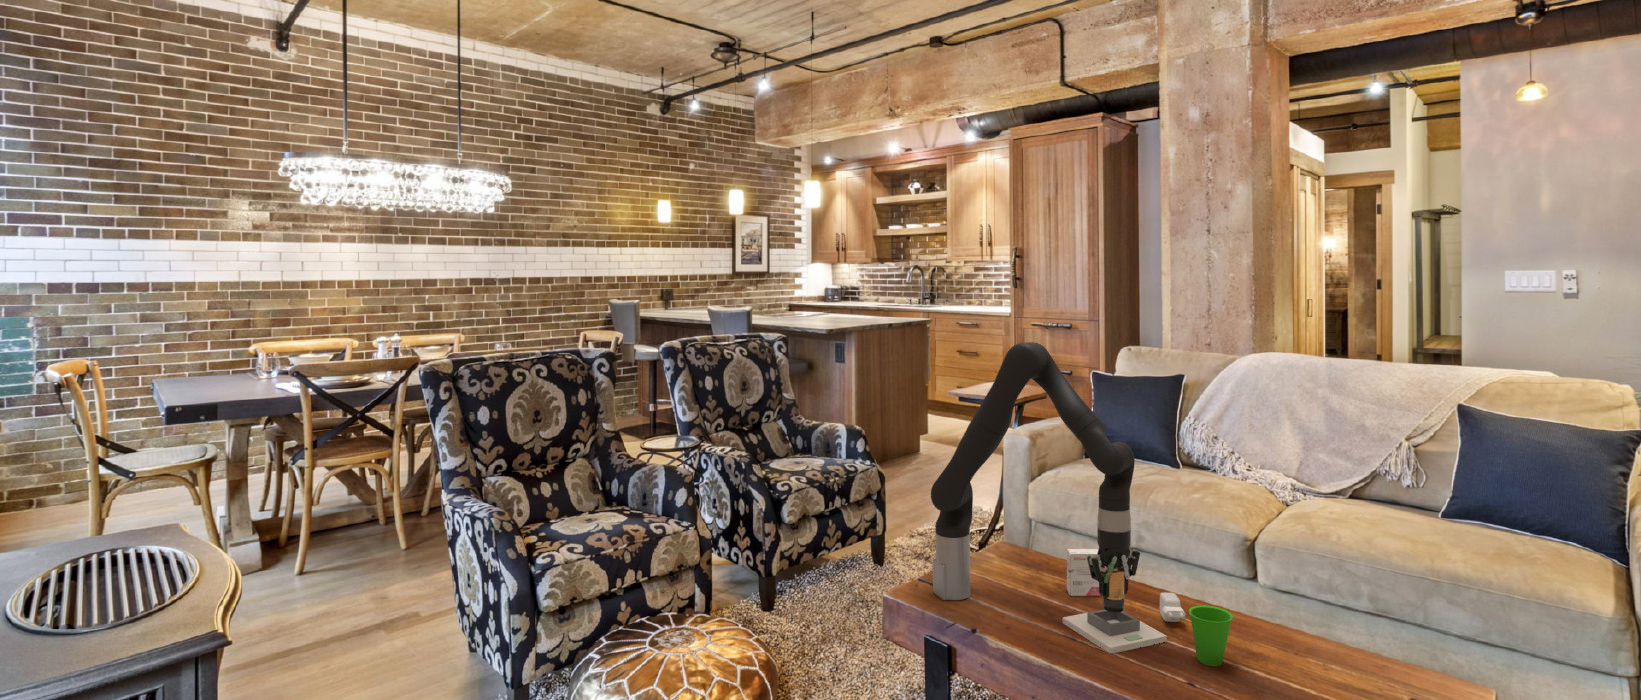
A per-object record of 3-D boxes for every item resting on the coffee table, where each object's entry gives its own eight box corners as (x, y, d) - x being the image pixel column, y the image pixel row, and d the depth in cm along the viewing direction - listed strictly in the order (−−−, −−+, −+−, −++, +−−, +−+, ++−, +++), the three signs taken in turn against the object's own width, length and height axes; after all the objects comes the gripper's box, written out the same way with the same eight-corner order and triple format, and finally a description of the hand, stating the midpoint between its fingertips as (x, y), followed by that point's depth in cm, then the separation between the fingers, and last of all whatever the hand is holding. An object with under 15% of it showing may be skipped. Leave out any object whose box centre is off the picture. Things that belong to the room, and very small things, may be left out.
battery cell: (1111, 613, 197) (1112, 572, 196) (1098, 606, 201) (1098, 566, 200) (1128, 610, 198) (1129, 569, 197) (1115, 602, 203) (1115, 563, 202)
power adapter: (1189, 633, 199) (1189, 609, 199) (1167, 632, 200) (1168, 608, 199) (1176, 613, 210) (1177, 591, 210) (1156, 613, 211) (1157, 590, 210)
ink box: (1098, 589, 227) (1098, 547, 226) (1102, 596, 222) (1103, 554, 221) (1066, 589, 228) (1066, 547, 227) (1069, 596, 223) (1069, 553, 222)
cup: (1229, 654, 188) (1230, 607, 187) (1234, 673, 179) (1236, 624, 178) (1185, 649, 191) (1186, 603, 190) (1189, 667, 182) (1190, 619, 181)
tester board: (1110, 653, 189) (1110, 637, 189) (1062, 623, 206) (1062, 607, 206) (1166, 642, 195) (1166, 625, 194) (1115, 613, 211) (1115, 597, 211)
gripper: (1127, 518, 204) (1127, 585, 205) (1079, 525, 199) (1078, 594, 201) (1149, 526, 197) (1148, 596, 198) (1099, 534, 192) (1098, 605, 194)
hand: (1113, 594), depth 200 cm, fingers closed on battery cell, 4 cm apart
